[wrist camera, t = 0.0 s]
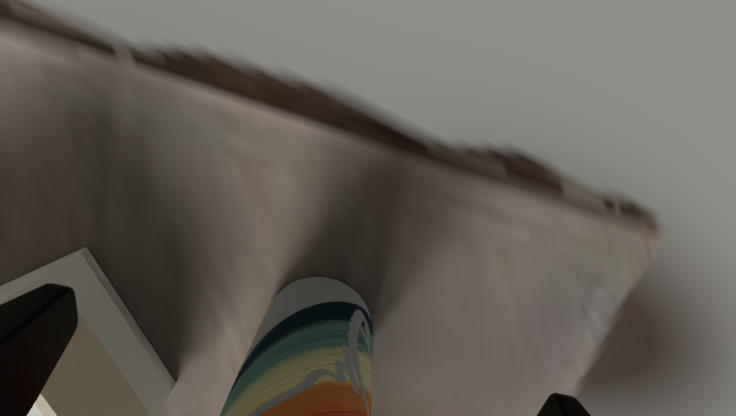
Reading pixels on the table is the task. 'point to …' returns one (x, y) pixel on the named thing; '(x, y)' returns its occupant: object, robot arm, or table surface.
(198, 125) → the table surface
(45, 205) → the table surface
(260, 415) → the lotion bottle
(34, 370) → the robot arm
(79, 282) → the storage box
